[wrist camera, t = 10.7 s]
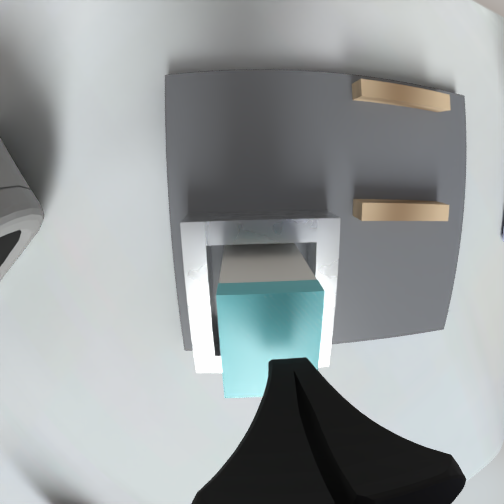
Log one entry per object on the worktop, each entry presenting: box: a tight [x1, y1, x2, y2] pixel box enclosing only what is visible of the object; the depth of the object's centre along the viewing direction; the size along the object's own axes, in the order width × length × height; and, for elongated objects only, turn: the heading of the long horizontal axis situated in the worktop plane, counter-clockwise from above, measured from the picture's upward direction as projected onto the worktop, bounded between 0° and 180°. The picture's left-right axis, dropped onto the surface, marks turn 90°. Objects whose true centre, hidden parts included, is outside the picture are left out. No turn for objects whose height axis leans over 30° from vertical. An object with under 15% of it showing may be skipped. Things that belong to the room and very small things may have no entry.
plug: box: [216, 243, 325, 398], centre depth 16 cm, size 4×5×7 cm
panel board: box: [165, 70, 466, 351], centre depth 19 cm, size 19×17×1 cm
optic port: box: [180, 210, 340, 373], centre depth 18 cm, size 8×9×2 cm
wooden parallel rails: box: [352, 79, 451, 221], centre depth 17 cm, size 6×8×2 cm
